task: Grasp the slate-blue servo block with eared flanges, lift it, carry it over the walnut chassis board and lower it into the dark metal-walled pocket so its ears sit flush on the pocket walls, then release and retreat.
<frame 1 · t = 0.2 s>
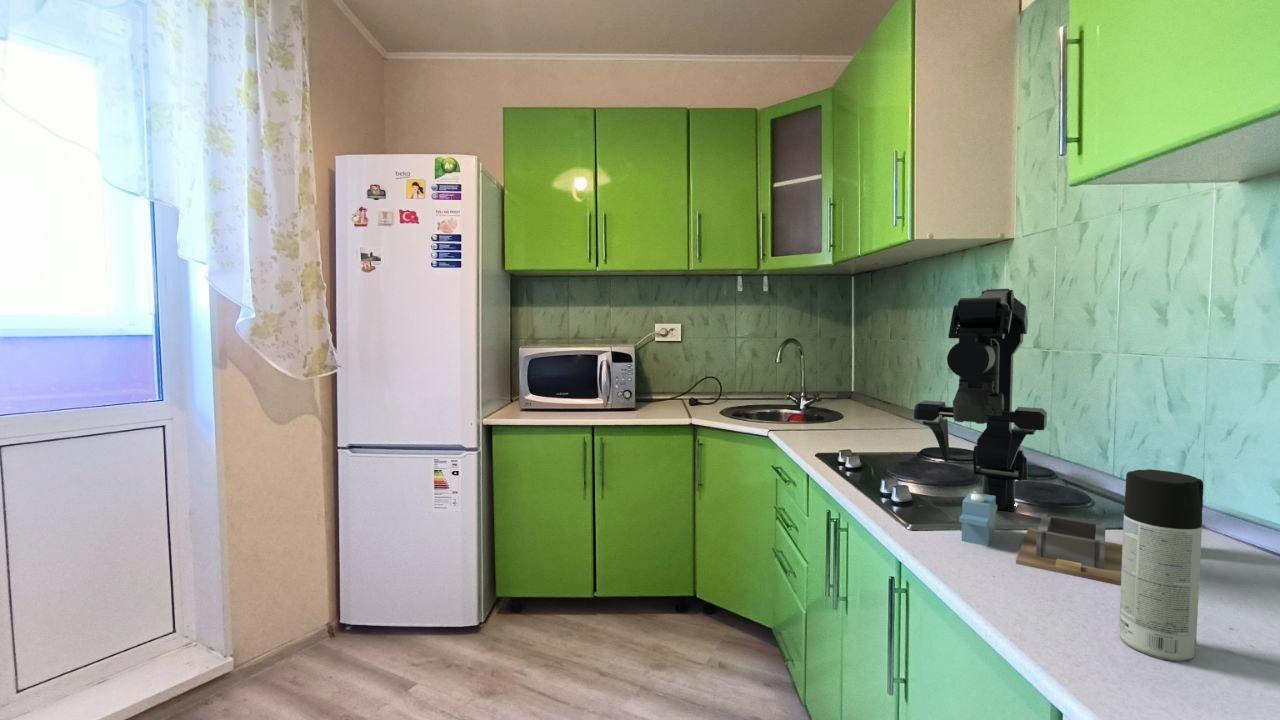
hand: (976, 465, 98), 13 cm above the table, tool pointing down, fingers open, 9 cm apart
servo block: (978, 538, 102), on the table
pocket board: (1070, 555, 94), on the table
spray can: (1155, 648, 67), on the table
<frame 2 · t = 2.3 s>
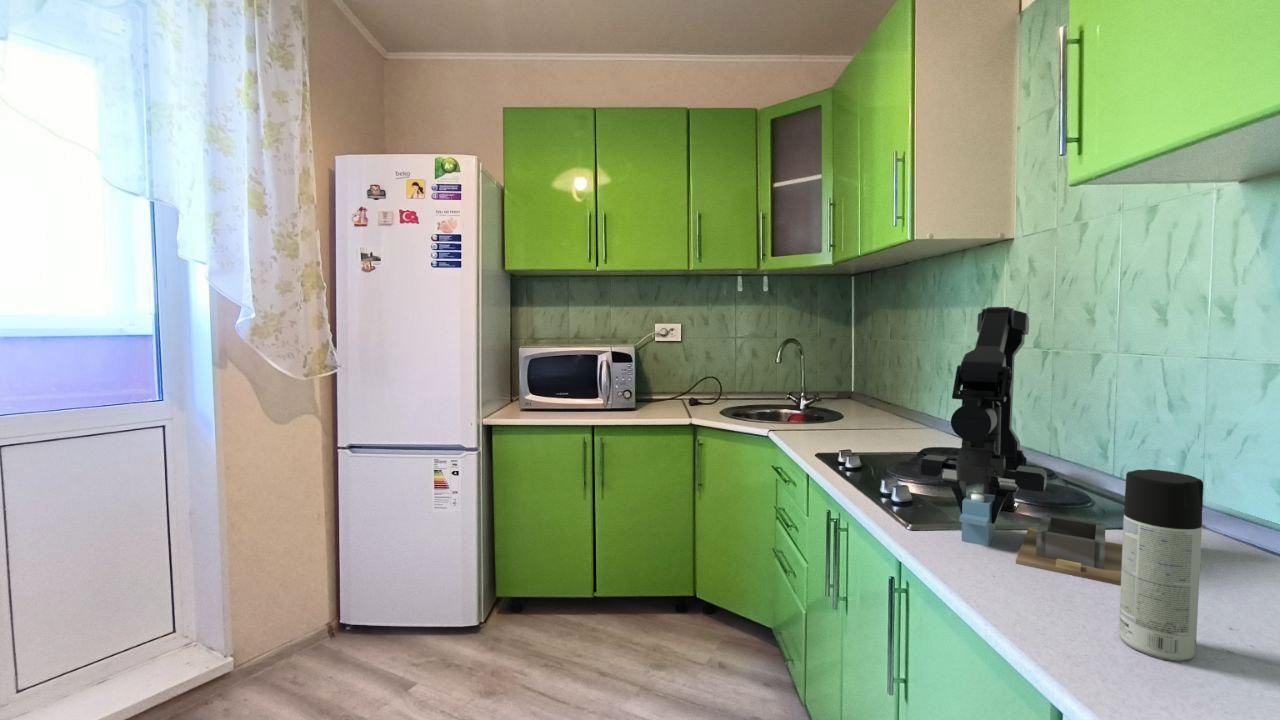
hand: (978, 520, 102), 3 cm above the table, tool pointing down, fingers closed on servo block, 4 cm apart
servo block: (978, 537, 102), on the table, touching gripper
everything else where it was.
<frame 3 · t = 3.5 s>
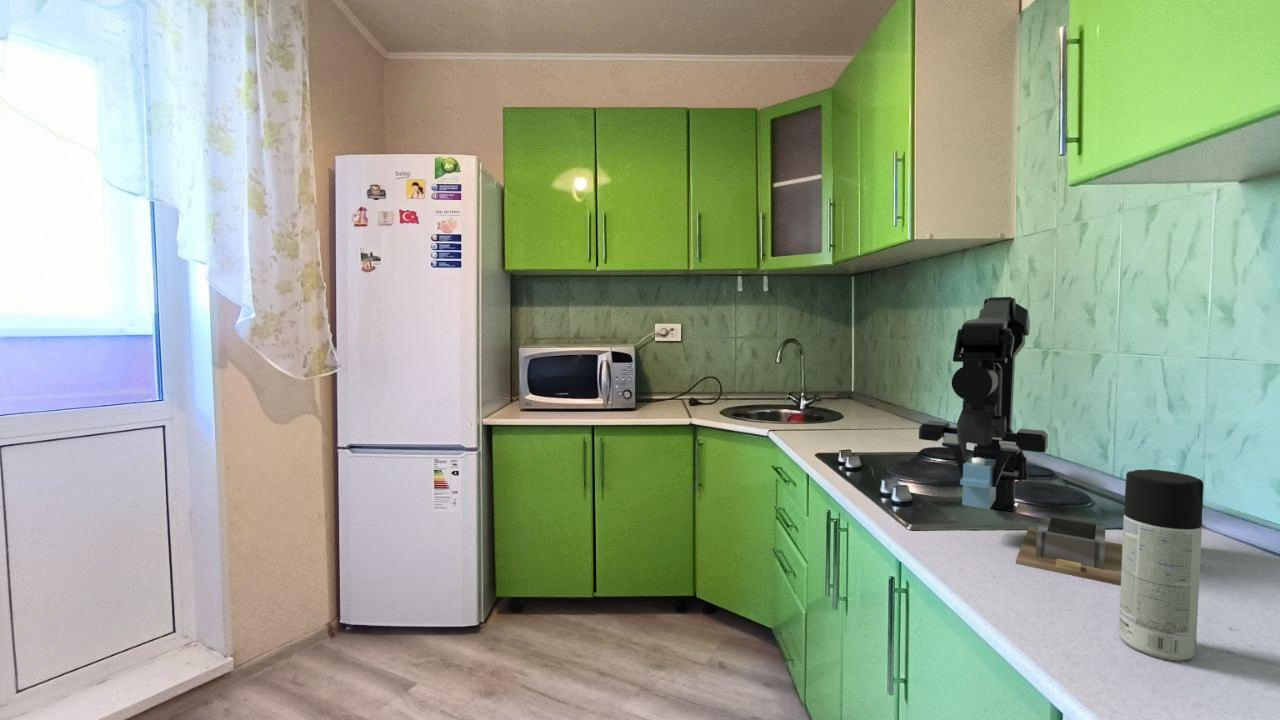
hand: (979, 484, 101), 9 cm above the table, tool pointing down, fingers closed on servo block, 4 cm apart
servo block: (979, 502, 101), point 6 cm above the table, touching gripper
everything else where it was.
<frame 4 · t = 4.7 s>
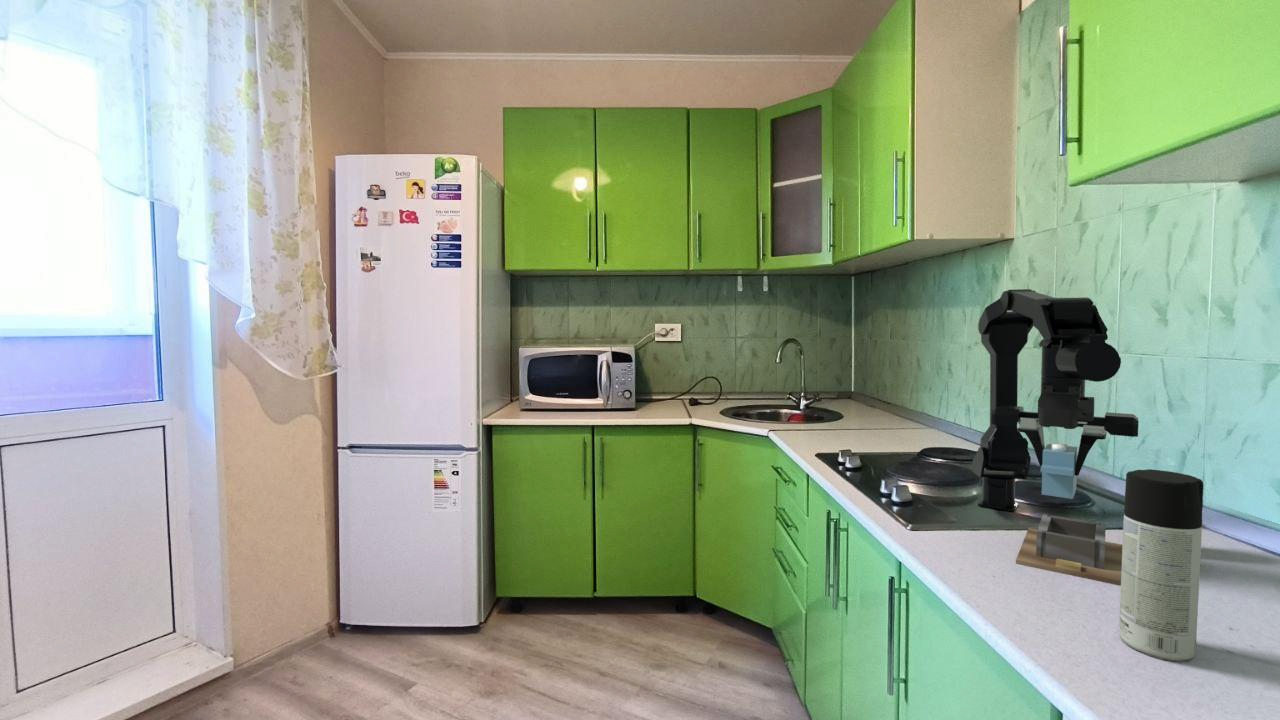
hand: (1059, 473, 94), 13 cm above the table, tool pointing down, fingers closed on servo block, 4 cm apart
servo block: (1059, 491, 94), point 10 cm above the table, touching gripper
everything else where it was.
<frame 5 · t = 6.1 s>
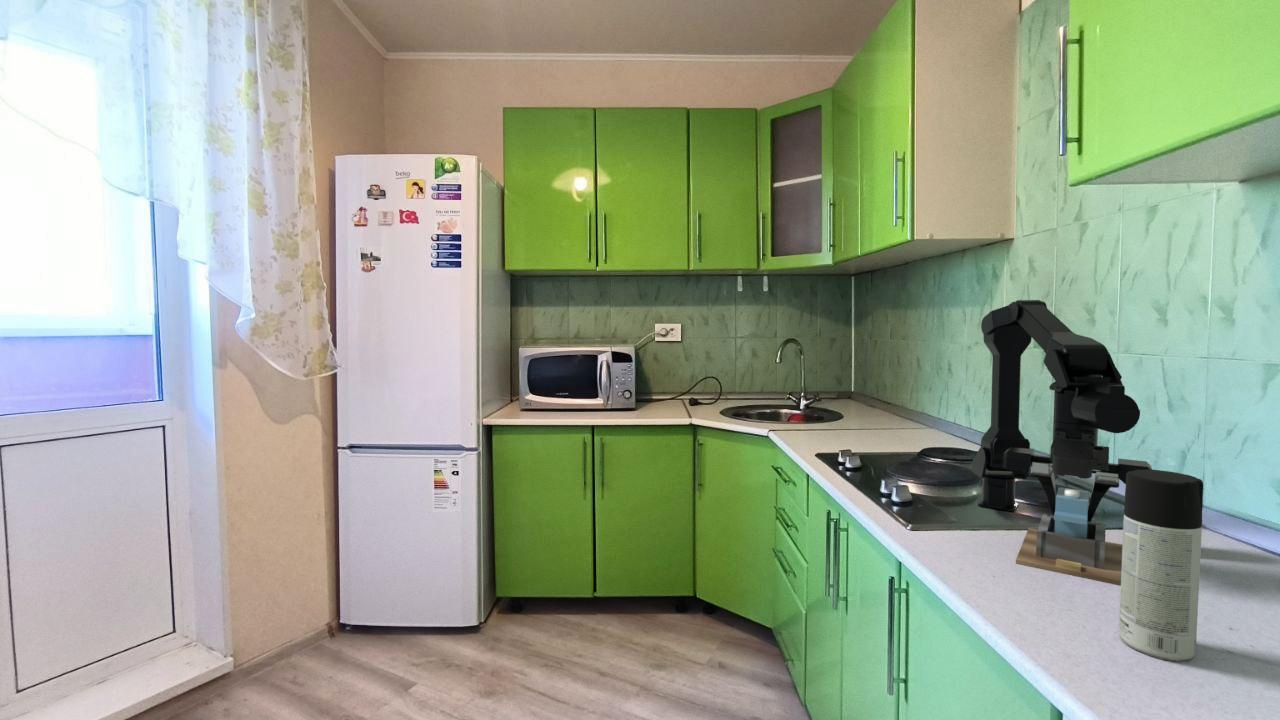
hand: (1071, 518, 93), 6 cm above the table, tool pointing down, fingers closed on servo block, 4 cm apart
servo block: (1071, 537, 93), point 3 cm above the table, touching gripper
everything else where it was.
when the fingers open (5 cm above the table, at t = 7.1 s): servo block drops 1 cm, resting on pocket board.
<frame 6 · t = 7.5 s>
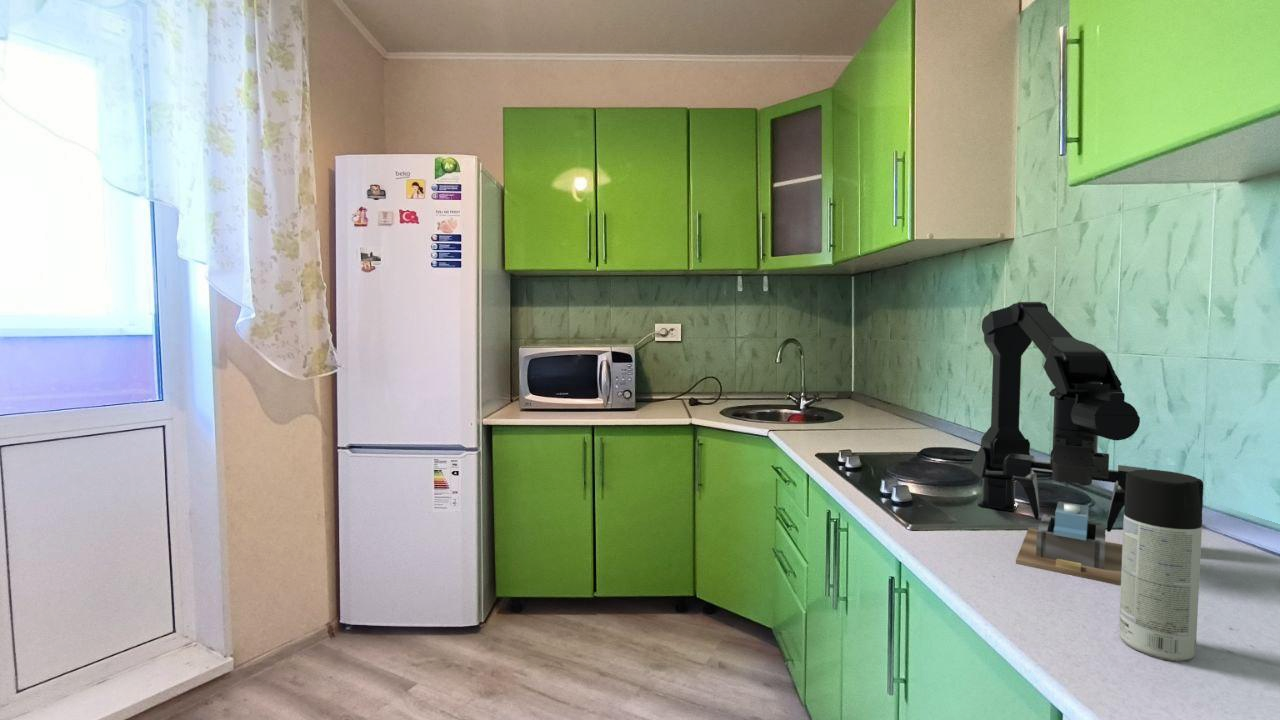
hand: (1071, 524, 93), 5 cm above the table, tool pointing down, fingers open, 9 cm apart
servo block: (1070, 551, 94), point 1 cm above the table, touching pocket board
everything else where it was.
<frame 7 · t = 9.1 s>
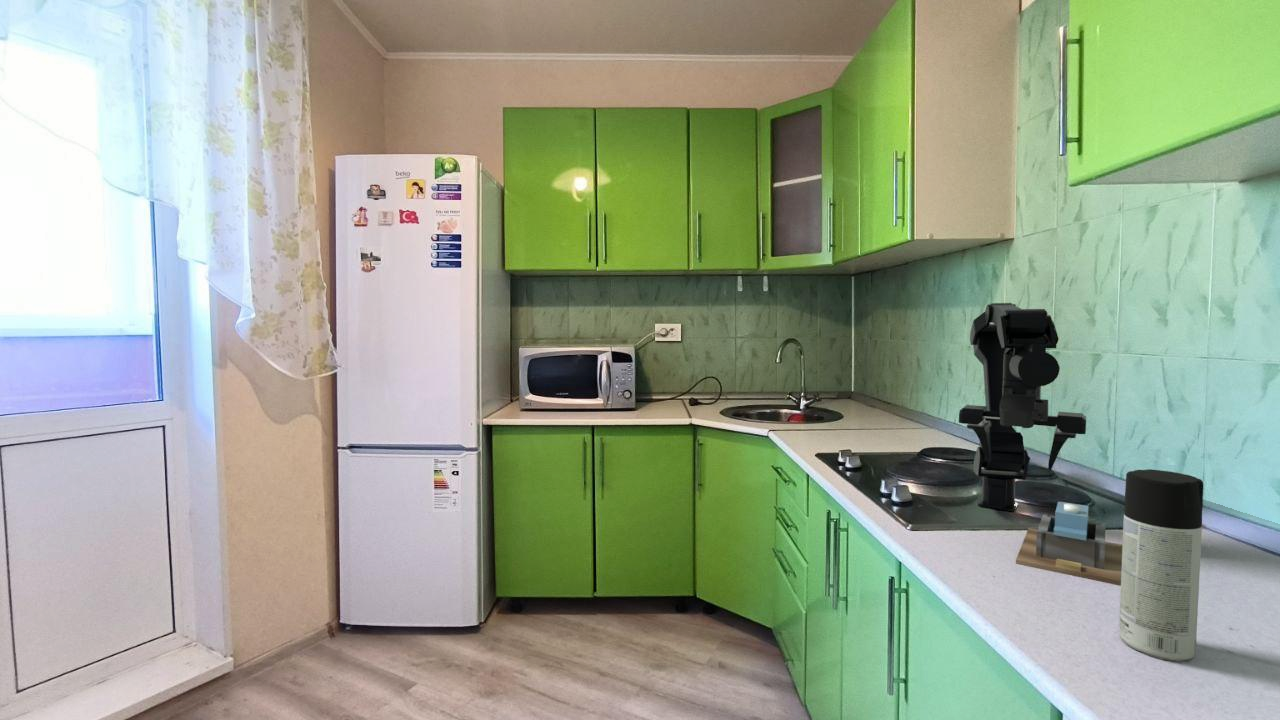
hand: (1018, 466, 105), 12 cm above the table, tool pointing down, fingers open, 9 cm apart
nothing on the table moved.
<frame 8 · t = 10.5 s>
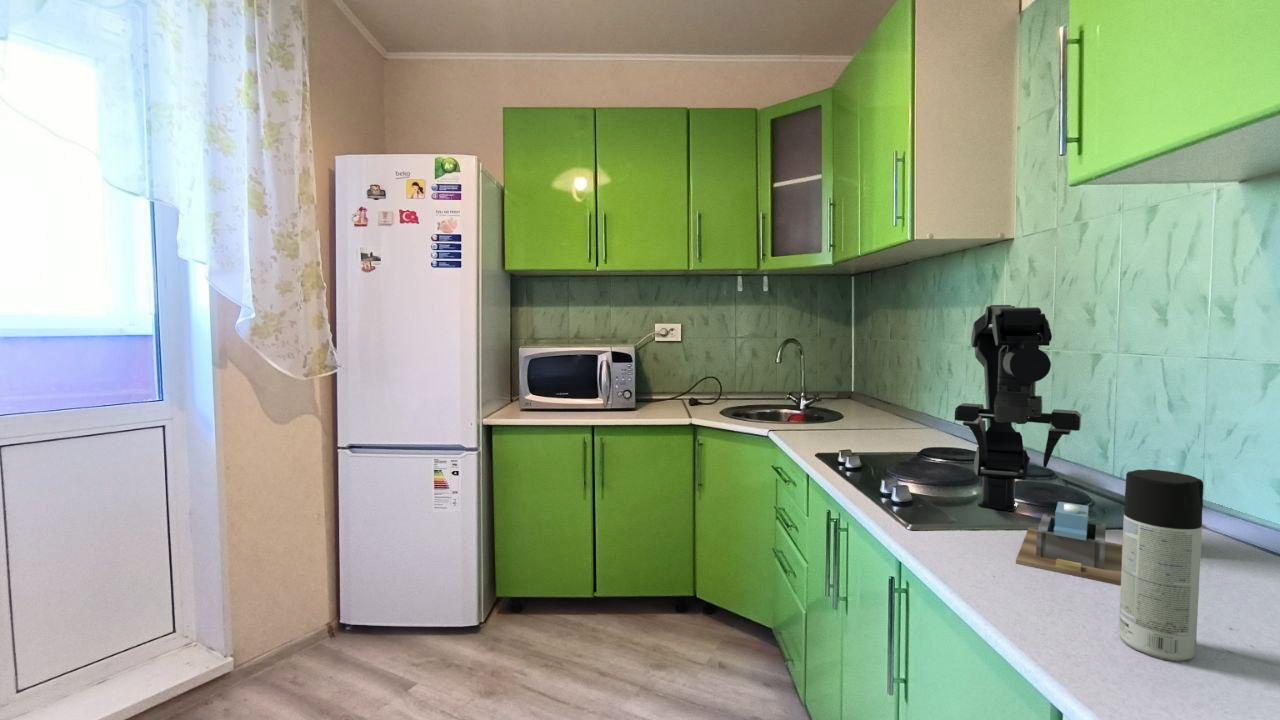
hand: (1014, 463, 106), 12 cm above the table, tool pointing down, fingers open, 9 cm apart
nothing on the table moved.
at the end: servo block 0.0 cm off-centre on the pocket board, point 0.6 cm above the pocket board's base; servo block tilted 0°; the gripper is holding nothing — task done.
